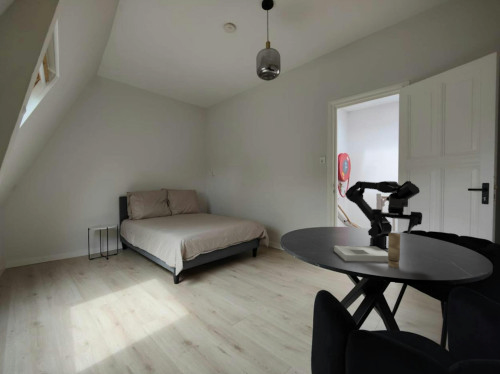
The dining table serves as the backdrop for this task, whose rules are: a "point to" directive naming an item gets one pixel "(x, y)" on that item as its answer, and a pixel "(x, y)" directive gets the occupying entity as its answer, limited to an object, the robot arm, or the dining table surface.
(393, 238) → the oak peg
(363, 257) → the grey socket board
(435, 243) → the dining table surface
